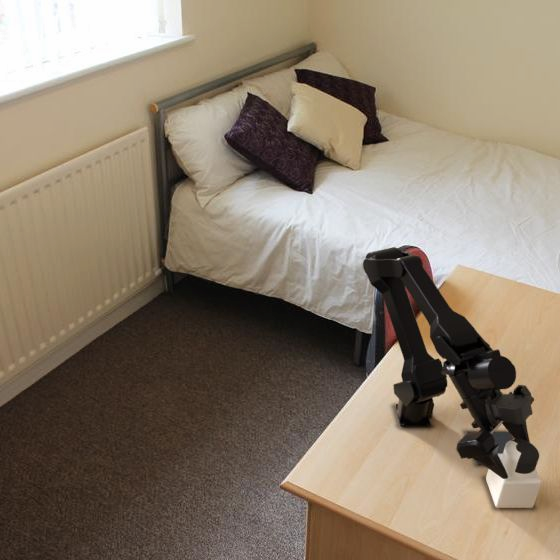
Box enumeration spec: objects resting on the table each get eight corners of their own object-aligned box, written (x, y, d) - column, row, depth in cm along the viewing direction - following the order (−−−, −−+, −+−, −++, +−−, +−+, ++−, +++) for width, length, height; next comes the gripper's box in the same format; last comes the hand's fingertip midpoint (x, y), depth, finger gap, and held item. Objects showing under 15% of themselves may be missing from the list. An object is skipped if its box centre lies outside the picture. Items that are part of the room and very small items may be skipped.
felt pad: (478, 465, 140) (478, 464, 140) (466, 432, 148) (466, 431, 148) (522, 465, 141) (522, 464, 141) (508, 432, 148) (508, 431, 148)
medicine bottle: (521, 478, 138) (535, 434, 131) (533, 508, 132) (549, 463, 125) (485, 478, 137) (497, 434, 131) (495, 508, 131) (509, 463, 125)
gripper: (484, 407, 118) (531, 489, 118) (533, 357, 130) (576, 431, 130) (436, 419, 127) (479, 495, 127) (486, 370, 139) (526, 440, 139)
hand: (517, 464), depth 130 cm, fingers open, 9 cm apart
